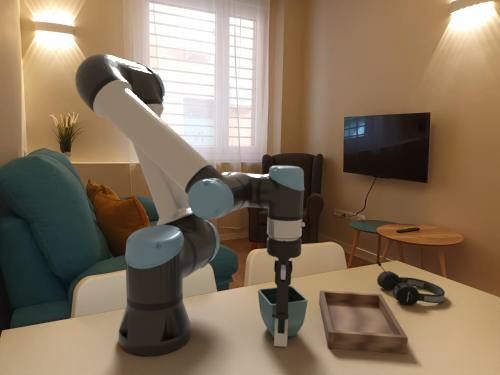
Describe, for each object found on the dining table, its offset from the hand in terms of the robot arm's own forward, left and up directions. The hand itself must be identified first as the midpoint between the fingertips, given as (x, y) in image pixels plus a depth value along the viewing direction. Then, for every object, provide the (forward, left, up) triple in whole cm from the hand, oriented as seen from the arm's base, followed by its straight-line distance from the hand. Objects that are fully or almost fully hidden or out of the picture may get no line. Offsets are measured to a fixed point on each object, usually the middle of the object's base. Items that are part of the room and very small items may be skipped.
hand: (280, 331), depth 84 cm
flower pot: (0, 0, 0) cm, 0 cm away
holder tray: (+18, +6, 0) cm, 19 cm away
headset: (+36, +26, -1) cm, 44 cm away
